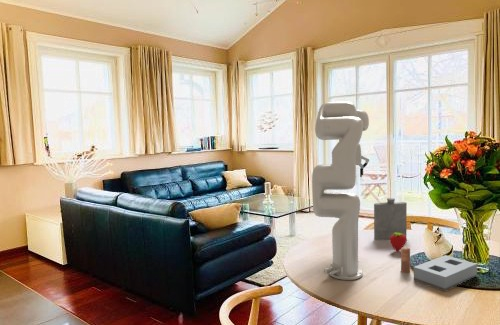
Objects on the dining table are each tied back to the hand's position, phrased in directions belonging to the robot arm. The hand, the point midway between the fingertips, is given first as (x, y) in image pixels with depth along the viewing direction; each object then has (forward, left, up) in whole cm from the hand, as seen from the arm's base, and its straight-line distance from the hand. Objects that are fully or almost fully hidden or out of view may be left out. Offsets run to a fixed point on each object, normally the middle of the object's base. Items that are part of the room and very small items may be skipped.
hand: (350, 176), depth 190 cm
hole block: (-9, -54, -31) cm, 63 cm away
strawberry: (+3, -25, -31) cm, 40 cm away
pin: (-14, -41, -31) cm, 53 cm away
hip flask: (+16, -11, -32) cm, 37 cm away
